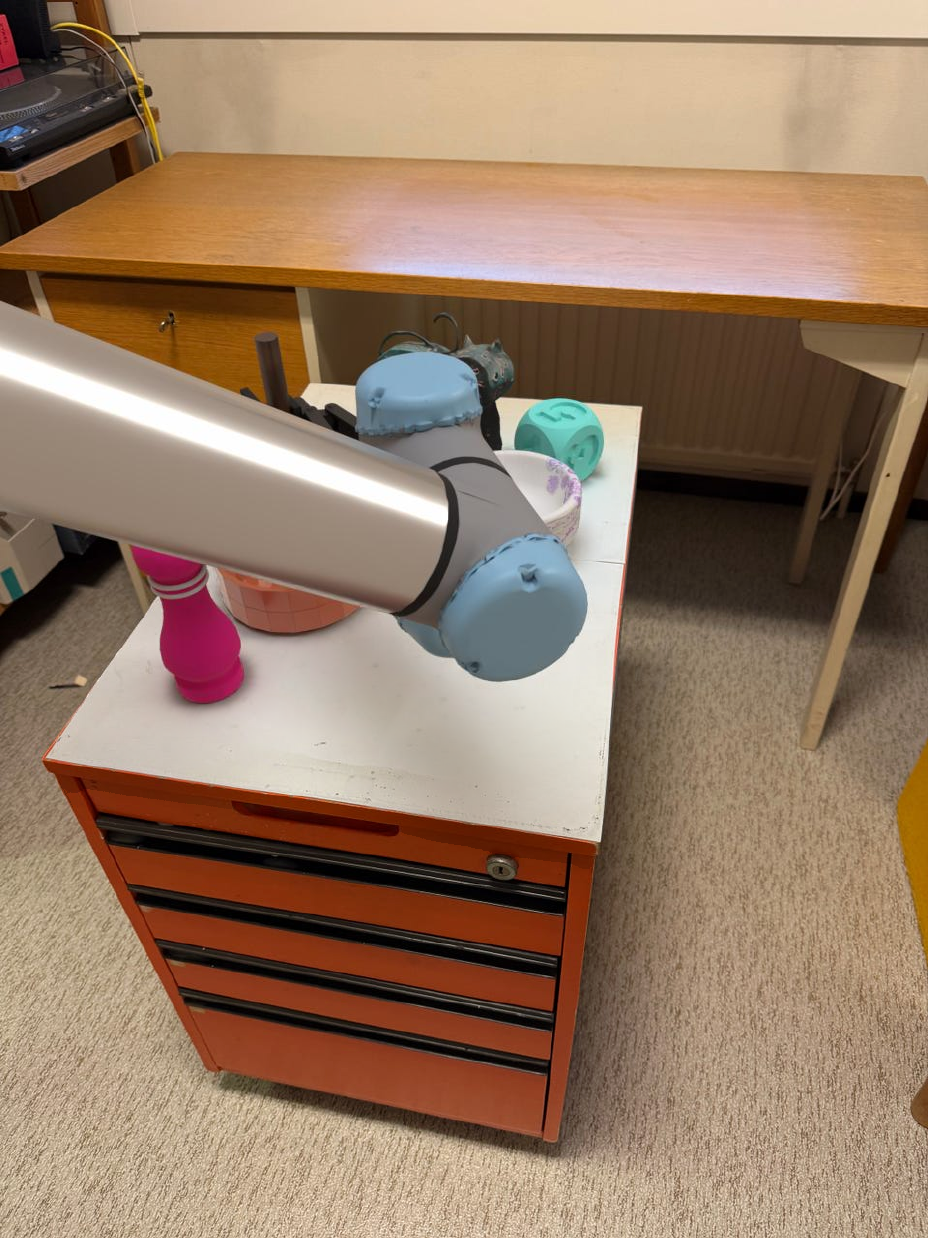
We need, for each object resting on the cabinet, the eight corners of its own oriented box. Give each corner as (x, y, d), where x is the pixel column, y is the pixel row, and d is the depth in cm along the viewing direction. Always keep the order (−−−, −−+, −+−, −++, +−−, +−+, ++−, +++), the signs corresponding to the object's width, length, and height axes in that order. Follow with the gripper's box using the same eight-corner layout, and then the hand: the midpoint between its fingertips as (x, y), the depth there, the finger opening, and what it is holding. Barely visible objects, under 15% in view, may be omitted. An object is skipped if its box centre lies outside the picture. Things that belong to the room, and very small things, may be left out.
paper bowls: (607, 547, 99) (612, 487, 93) (501, 603, 92) (501, 541, 87) (519, 490, 108) (519, 433, 103) (418, 537, 101) (413, 478, 96)
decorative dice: (512, 469, 112) (513, 412, 106) (558, 447, 115) (560, 391, 110) (556, 495, 107) (559, 436, 102) (602, 471, 111) (607, 413, 105)
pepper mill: (157, 696, 83) (91, 522, 70) (201, 647, 88) (147, 476, 75) (221, 716, 81) (165, 539, 68) (263, 664, 86) (218, 491, 73)
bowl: (229, 650, 88) (216, 604, 84) (222, 556, 100) (210, 512, 96) (388, 619, 91) (382, 573, 87) (362, 532, 103) (357, 488, 99)
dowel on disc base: (271, 534, 84) (231, 355, 72) (266, 500, 89) (228, 327, 77) (333, 523, 85) (304, 345, 73) (325, 491, 90) (297, 318, 78)
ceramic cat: (517, 475, 111) (518, 319, 98) (488, 499, 107) (485, 340, 94) (395, 433, 120) (380, 286, 107) (364, 454, 116) (345, 304, 103)
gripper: (287, 584, 68) (192, 455, 84) (454, 521, 74) (336, 411, 89) (270, 503, 63) (172, 381, 79) (450, 442, 69) (326, 340, 84)
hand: (259, 397), depth 84 cm, fingers closed on dowel on disc base, 2 cm apart
